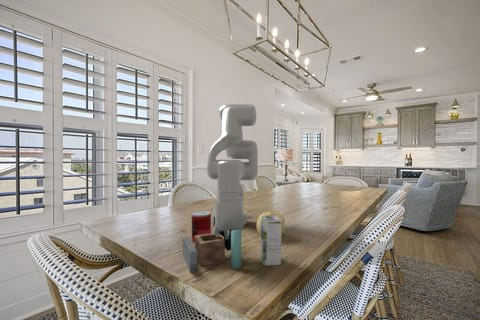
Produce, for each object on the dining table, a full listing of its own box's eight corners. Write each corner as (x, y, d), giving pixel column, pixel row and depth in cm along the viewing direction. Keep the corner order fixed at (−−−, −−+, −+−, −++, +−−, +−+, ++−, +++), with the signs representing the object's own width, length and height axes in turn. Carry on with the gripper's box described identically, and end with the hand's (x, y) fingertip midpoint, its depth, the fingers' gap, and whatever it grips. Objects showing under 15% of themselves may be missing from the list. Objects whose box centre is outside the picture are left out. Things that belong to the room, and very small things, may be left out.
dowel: (239, 263, 74) (239, 228, 74) (243, 267, 71) (242, 231, 71) (229, 264, 73) (229, 230, 73) (233, 269, 70) (233, 233, 70)
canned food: (213, 237, 98) (213, 211, 98) (205, 243, 91) (205, 216, 91) (198, 235, 101) (197, 210, 101) (188, 241, 93) (188, 214, 93)
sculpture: (260, 242, 92) (260, 215, 92) (254, 232, 104) (254, 208, 104) (287, 240, 94) (287, 214, 94) (278, 231, 106) (278, 208, 106)
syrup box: (260, 258, 78) (260, 215, 78) (277, 257, 78) (277, 214, 78) (263, 266, 72) (263, 219, 72) (282, 265, 73) (282, 219, 72)
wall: (188, 253, 82) (188, 236, 82) (196, 271, 69) (196, 251, 69) (182, 254, 81) (182, 237, 81) (190, 272, 68) (190, 252, 68)
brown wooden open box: (217, 252, 83) (217, 232, 83) (224, 261, 75) (224, 240, 75) (194, 255, 80) (194, 235, 80) (200, 265, 72) (200, 243, 72)
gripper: (243, 193, 86) (243, 242, 86) (204, 196, 80) (204, 248, 81) (252, 196, 79) (252, 249, 80) (210, 199, 74) (210, 257, 74)
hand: (228, 249), depth 80 cm, fingers closed
